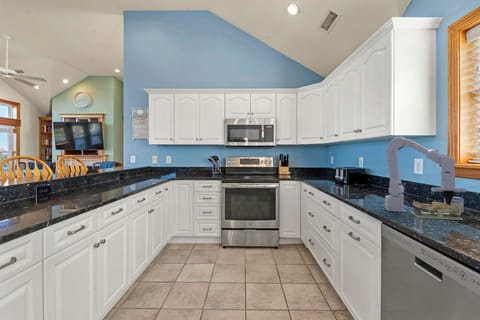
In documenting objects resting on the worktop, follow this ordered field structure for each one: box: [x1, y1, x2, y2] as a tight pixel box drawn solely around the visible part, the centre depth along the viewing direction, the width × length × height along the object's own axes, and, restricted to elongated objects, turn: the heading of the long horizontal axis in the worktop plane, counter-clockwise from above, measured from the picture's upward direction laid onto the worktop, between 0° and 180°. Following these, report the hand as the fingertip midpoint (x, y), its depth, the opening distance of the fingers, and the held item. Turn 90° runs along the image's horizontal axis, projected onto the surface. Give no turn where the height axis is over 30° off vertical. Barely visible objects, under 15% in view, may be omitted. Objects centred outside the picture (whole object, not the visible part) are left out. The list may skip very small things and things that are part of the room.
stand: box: [410, 208, 464, 221], centre depth 135 cm, size 20×11×5 cm, turn 73°
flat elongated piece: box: [412, 201, 462, 216], centre depth 135 cm, size 19×9×2 cm, turn 74°
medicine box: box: [443, 196, 465, 214], centre depth 145 cm, size 8×4×9 cm, turn 27°
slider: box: [431, 200, 450, 209], centre depth 135 cm, size 6×5×3 cm
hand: (448, 205), depth 134 cm, fingers closed, pressing on slider
